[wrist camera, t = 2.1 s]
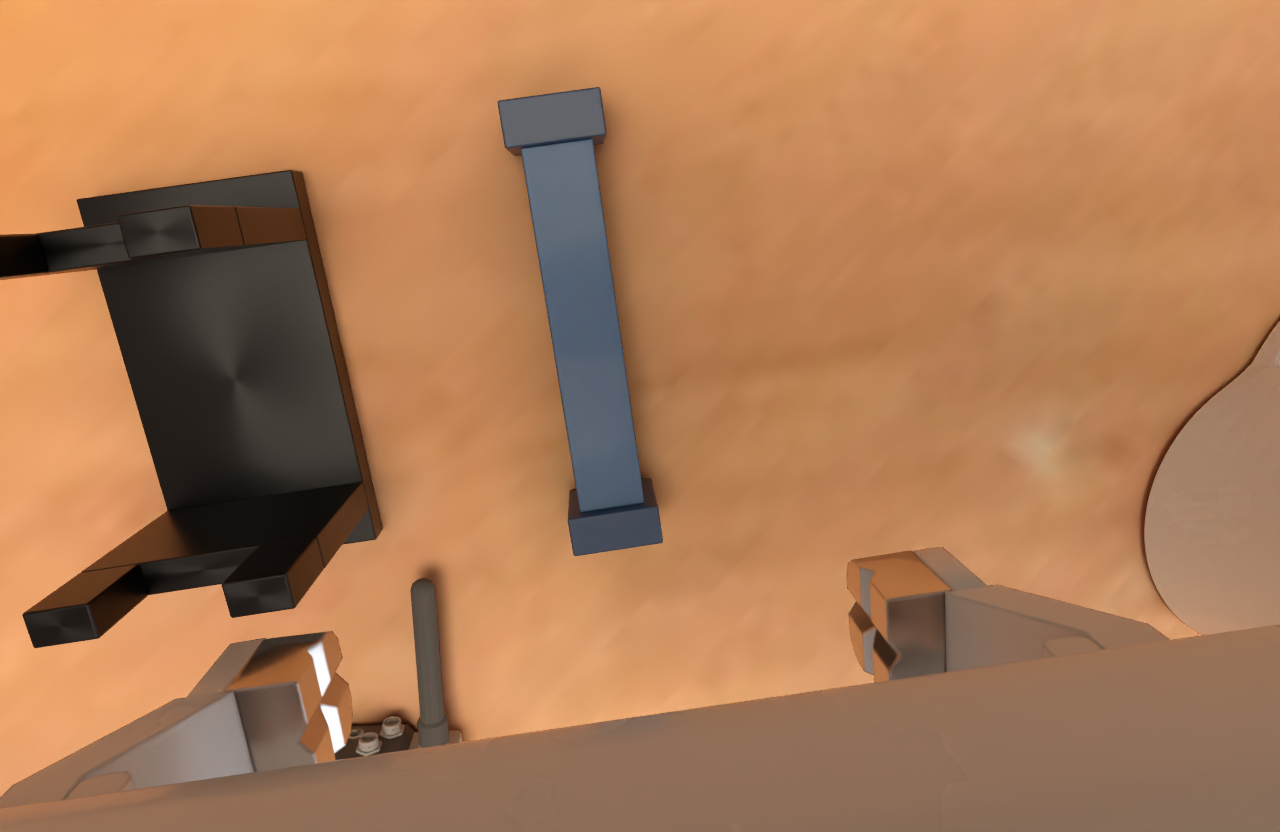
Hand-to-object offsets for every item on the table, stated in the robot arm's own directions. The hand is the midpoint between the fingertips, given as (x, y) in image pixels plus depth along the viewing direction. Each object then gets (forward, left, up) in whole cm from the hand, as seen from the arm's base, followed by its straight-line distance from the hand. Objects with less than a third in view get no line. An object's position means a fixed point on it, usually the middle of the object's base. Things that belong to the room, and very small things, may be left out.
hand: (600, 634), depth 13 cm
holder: (+14, -2, -22) cm, 26 cm away
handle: (0, -2, -22) cm, 22 cm away
